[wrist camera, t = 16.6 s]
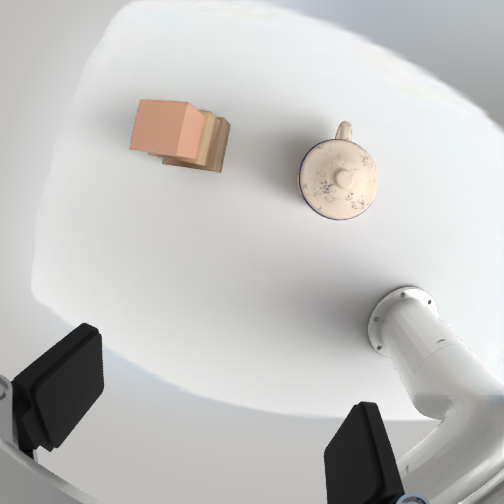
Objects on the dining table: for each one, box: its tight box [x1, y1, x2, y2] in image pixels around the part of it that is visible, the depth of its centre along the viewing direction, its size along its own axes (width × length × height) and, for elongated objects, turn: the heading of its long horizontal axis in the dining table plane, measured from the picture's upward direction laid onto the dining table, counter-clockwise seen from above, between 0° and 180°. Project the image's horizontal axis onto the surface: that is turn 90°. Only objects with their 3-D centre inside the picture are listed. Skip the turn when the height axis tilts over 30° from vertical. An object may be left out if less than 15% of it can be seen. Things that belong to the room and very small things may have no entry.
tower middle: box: [149, 110, 220, 166], centre depth 32 cm, size 6×6×5 cm
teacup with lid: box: [297, 121, 378, 220], centre depth 33 cm, size 12×9×12 cm
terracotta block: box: [129, 100, 205, 160], centre depth 27 cm, size 5×5×6 cm
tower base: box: [162, 117, 230, 173], centre depth 37 cm, size 7×7×5 cm
